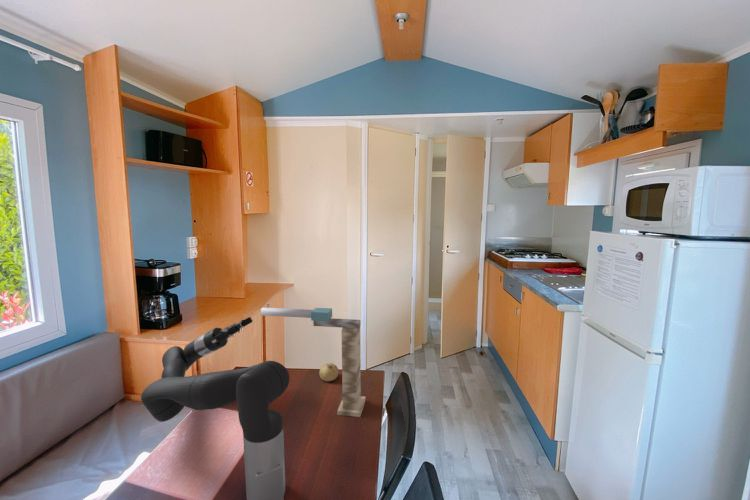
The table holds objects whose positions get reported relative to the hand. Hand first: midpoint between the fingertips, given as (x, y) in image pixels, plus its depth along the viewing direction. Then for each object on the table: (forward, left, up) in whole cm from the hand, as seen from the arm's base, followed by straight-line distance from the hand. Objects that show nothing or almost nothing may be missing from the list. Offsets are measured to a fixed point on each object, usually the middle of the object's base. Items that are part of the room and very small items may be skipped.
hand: (245, 323), depth 122 cm
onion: (-3, -31, -29) cm, 43 cm away
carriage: (-13, -15, +3) cm, 20 cm away
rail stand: (-22, -27, -29) cm, 45 cm away
